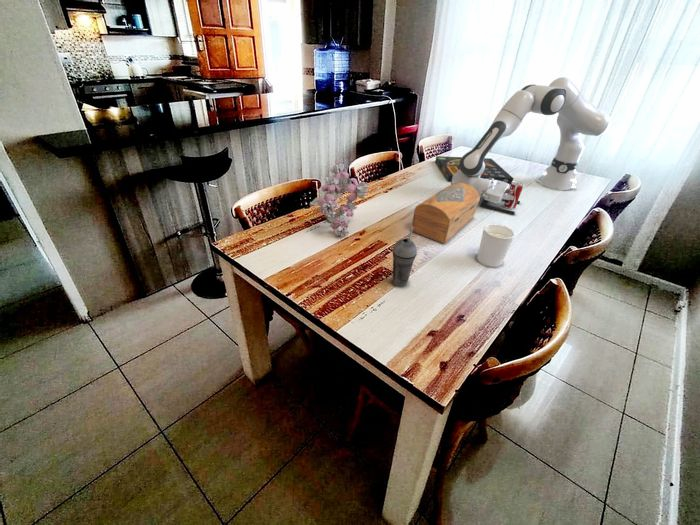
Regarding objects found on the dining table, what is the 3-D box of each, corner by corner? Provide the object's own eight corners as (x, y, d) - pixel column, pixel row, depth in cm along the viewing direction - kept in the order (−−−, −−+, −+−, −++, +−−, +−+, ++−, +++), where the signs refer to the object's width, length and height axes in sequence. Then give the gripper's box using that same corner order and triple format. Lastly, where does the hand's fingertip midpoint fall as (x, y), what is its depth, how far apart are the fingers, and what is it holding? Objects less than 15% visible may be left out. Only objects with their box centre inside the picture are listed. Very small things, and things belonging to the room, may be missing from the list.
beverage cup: (386, 275, 106) (393, 220, 94) (408, 275, 106) (417, 220, 95) (390, 290, 100) (398, 233, 88) (413, 289, 100) (424, 233, 89)
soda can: (516, 210, 151) (525, 185, 145) (504, 208, 152) (512, 184, 145) (513, 205, 156) (522, 181, 149) (502, 204, 156) (510, 180, 150)
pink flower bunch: (290, 227, 126) (311, 178, 109) (316, 200, 142) (338, 154, 125) (333, 255, 127) (361, 211, 109) (354, 226, 143) (381, 183, 125)
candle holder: (503, 256, 118) (513, 227, 111) (504, 271, 110) (515, 240, 104) (475, 250, 120) (483, 221, 114) (474, 264, 113) (483, 234, 106)
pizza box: (511, 184, 179) (513, 178, 177) (448, 181, 179) (449, 175, 177) (489, 164, 208) (491, 158, 206) (435, 161, 208) (436, 156, 206)
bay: (487, 195, 164) (488, 193, 164) (519, 203, 158) (520, 201, 158) (480, 206, 153) (480, 204, 152) (513, 215, 147) (514, 212, 146)
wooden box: (441, 207, 151) (447, 178, 143) (475, 218, 142) (484, 188, 134) (407, 230, 131) (412, 198, 124) (444, 244, 123) (452, 211, 115)
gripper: (481, 189, 147) (513, 196, 141) (491, 176, 161) (520, 182, 155) (477, 202, 150) (509, 209, 145) (487, 188, 165) (516, 195, 159)
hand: (515, 195), depth 150 cm, fingers closed on soda can, 5 cm apart
